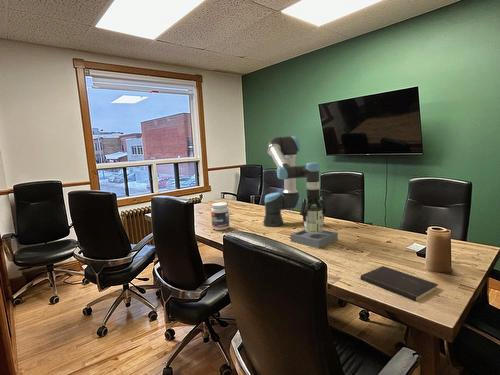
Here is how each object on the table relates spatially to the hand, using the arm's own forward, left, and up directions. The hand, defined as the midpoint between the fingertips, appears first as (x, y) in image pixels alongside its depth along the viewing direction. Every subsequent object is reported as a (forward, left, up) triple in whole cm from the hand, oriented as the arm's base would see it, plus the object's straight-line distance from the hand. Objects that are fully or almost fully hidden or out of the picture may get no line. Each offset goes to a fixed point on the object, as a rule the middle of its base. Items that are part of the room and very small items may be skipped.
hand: (313, 225), depth 176 cm
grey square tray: (0, 0, -9) cm, 9 cm away
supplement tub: (-69, -19, -10) cm, 72 cm away
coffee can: (0, 0, -3) cm, 3 cm away
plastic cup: (-18, +31, -10) cm, 37 cm away
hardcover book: (+58, -25, -10) cm, 64 cm away
